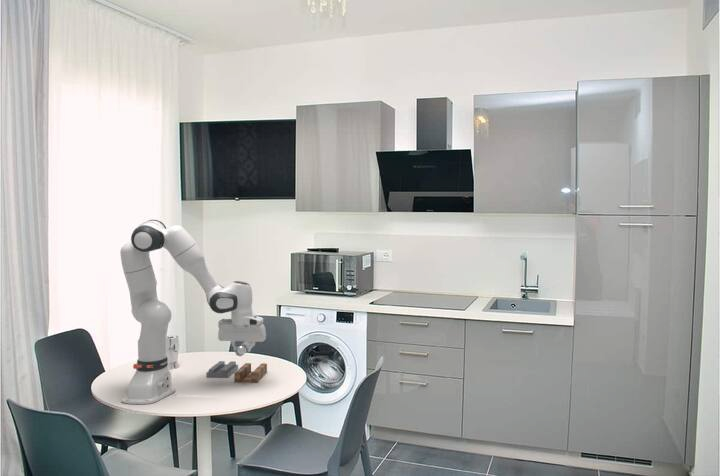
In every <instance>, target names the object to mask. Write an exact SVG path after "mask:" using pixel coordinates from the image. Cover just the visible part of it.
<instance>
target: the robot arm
mask: <svg viewBox="0 0 720 476" xmlns="http://www.w3.org/2000/svg"><path fill="white" fill-rule="evenodd" d="M162 248H164V249H166V250H167V252H168V253H169V254H170V256H171V257H172V258H173V260H174V261H175V263H176V264H177V266H179V267H180V268H181V269H182V270H183V271H185V272H187V273H188V274H190V275H191V276H192V277H194V279H195V280H196V281H197V282H198V284H199V285H200V286H201V288H202V290H203V291H204V293H205V297H206V301H207V305H208V306H209V308H210V309H211V311H213V312H214V313H217V314H225V313H230V312H231V314H230V316H231V318H221V319H220V320H219V321H218V326H217V327H218V333H217V338H218V340H219V341H220V342H230V345H231V346H232V347H233V352H235V350H236V348H237V347H238V346H237V345H236V343H237V342H245V341H246V342H248V343H249V344H250V345H249V347H247V348H246V353H250V352H251V350H252V348H251V346H252V344H253V342H255V343H257V342H258V343H263V342H264V341H265V340H266V339H267V329H266V327H265V324H264V318H263V317H261V316H259V315H256V314H254V313H253V308H252V307H253V306H252V305H253V291H252V290H253V289H252V286H251V285H250V284H249V283H248V282H245V281H241V280H238V281H237V280H235V281H233V282H232V283H230V284H229V285H227V286H222V285H221V284H219V283H218V282H217V281H216V279H215V278H214V276H213V275H212V274H211V272H210V271H209V269H208V267H207V265H206V260H205V256H204V253H203V251H202V250H201V248H200V246H199V245H198V243H197V242H196V240H195V239H194V238H193V236H192V235H191V234H190V233H189V232H188V231H187V230H186V229H185V228H184V227H183V226H182V225H179V224H175V225H171V226H169V227H166V225H165V223H163V222H162V221H161V220H158V219H149V220H147V221H144V222H142V223H141V224H139V225H138V227H136V228H134V230H133V231H132V233H131V237H130V241H129V242H127V243H126V244H124V245H123V246H122V247H121V249H120V260H121V266H122V270H123V274H124V276H125V277H124V278H125V280H126V284H127V287H128V290H129V291H128V292H129V297H130V306H131V314H132V316H133V318H134V319H135V321H137V322H139V323H140V324H141V326H140V333H139V338H138V340H137V357H138V358H137V361H136V363H133V366H132V368H133V370H135V372H134V374H133V376H132V378H131V380H130V382H129V383H128V385H127V394H125V396H123V397H122V399H121V401H120V402H121V403H122V402H123V404H129V405H149V404H154V403H156V402H158V401H160V400H162V399H164V398H166V397H168V396H170V395H172V394H174V393H176V389H175V388H174V387H173V381H172V372H171V371H170V369H168V368H167V365H168V359H167V356H166V336H168V335H167V334H168V329H169V323H170V322H171V320H172V310H171V309H170V307H169V306H168V305H167V304H166V303H164V301H163V302H162V301H160V300H159V298H158V294H157V293H158V292H157V285H158V281H157V279H156V274H155V270H154V268H153V264H152V261H151V258H150V252H153V251H157V250H161V249H162Z"/></svg>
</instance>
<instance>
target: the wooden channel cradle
mask: <svg viewBox="0 0 720 476" xmlns="http://www.w3.org/2000/svg"><path fill="white" fill-rule="evenodd" d="M267 373H268V364H267V363H265V362H264V363H262V362H261V363H260V365H258V367H256V368H255V369H254V370H253V371H252V362H245V363H244V364H243V365H241V366H240V368H238V370H237V371H235V372H234V373H233V375H234V376H233V377H234V383H235V384H236V383H238V384H239V383H241V384H243V383H245V384H246V383H247V384H258V383H259V382H260V380H261V379H262V378H263V377H264V376H265V375H266V374H267Z"/></svg>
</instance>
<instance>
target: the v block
mask: <svg viewBox="0 0 720 476" xmlns="http://www.w3.org/2000/svg"><path fill="white" fill-rule="evenodd" d="M225 362H226V361H223V360H220V361H218V362H217V363H216V364H214V365H212V366H211V367H210V368H209V369H208V371H207V372H206V378H207V379H208V378H210V379H211V378H212V379H213V378H215V379H216V378H217V379H229V378H230V377H231V376H232V375H234V373H235V372H236V371H237V370H239V364H237V362H236V361H235V360H234V361H229V362H228V363H227V364H226V363H225Z"/></svg>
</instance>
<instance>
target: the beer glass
mask: <svg viewBox="0 0 720 476" xmlns="http://www.w3.org/2000/svg"><path fill="white" fill-rule="evenodd" d="M179 341H180V340H179V336H178V335H174V334H172V335H166V356H167V359H168V365H167V368H168V370H175V369H178V368H179V361H178V357H179V350H180V342H179Z"/></svg>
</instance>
